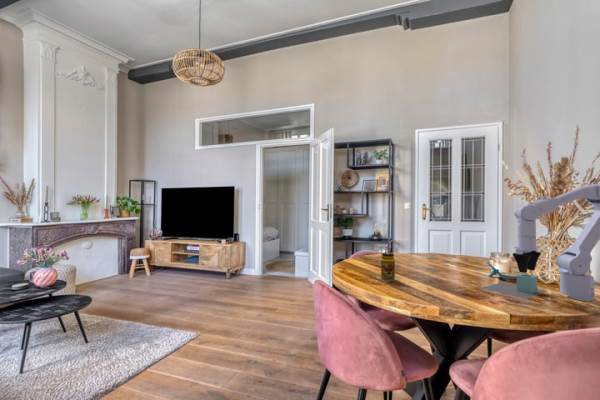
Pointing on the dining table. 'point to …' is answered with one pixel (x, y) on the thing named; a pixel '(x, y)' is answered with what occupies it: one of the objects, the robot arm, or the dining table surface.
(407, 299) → the dining table surface
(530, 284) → the teal block
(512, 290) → the post board
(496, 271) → the teal bent piece
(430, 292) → the dining table surface
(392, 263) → the condiment
